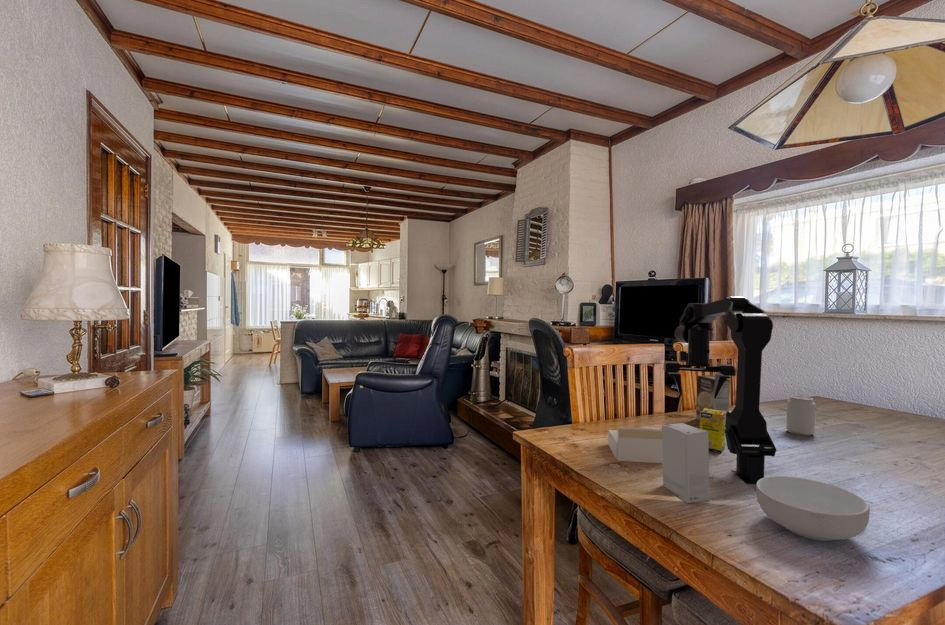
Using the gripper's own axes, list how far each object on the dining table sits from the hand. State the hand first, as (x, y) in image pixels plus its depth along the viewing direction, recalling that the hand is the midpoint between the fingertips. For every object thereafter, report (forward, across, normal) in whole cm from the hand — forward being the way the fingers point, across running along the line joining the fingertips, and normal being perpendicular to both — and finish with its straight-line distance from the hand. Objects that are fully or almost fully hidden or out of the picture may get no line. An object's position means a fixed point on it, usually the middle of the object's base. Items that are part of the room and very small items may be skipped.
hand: (697, 397), depth 131 cm
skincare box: (+15, +9, +40) cm, 44 cm away
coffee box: (+14, -10, -29) cm, 34 cm away
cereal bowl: (+15, -11, +49) cm, 52 cm away
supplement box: (+14, -4, +3) cm, 15 cm away
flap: (+13, +17, +24) cm, 32 cm away
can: (+14, -35, -25) cm, 45 cm away
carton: (+14, +18, +17) cm, 29 cm away
